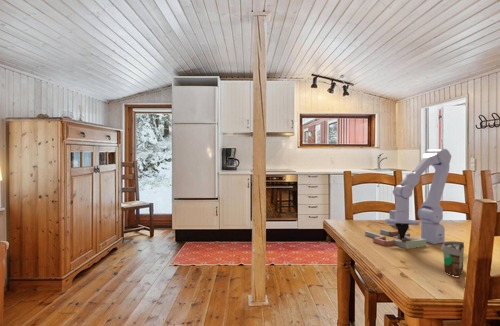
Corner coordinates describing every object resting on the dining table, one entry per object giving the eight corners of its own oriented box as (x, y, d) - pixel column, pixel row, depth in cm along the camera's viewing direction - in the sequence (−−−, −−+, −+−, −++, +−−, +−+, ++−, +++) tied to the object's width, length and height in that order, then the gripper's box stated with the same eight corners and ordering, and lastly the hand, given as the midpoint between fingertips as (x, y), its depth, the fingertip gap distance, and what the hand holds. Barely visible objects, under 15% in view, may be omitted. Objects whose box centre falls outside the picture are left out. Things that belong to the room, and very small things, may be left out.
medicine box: (403, 225, 190) (403, 210, 190) (406, 226, 186) (406, 211, 185) (389, 224, 191) (389, 210, 190) (391, 226, 186) (391, 211, 186)
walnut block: (417, 245, 149) (417, 239, 148) (410, 247, 146) (410, 240, 146) (408, 243, 152) (408, 237, 152) (401, 244, 150) (401, 238, 150)
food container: (444, 265, 121) (444, 239, 121) (463, 269, 118) (464, 241, 117) (437, 275, 112) (438, 246, 112) (458, 279, 108) (459, 249, 108)
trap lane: (434, 244, 149) (434, 238, 149) (398, 250, 140) (398, 243, 140) (389, 231, 173) (389, 226, 173) (356, 236, 164) (356, 230, 164)
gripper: (417, 210, 154) (417, 238, 154) (384, 208, 158) (384, 236, 158) (420, 212, 147) (420, 242, 147) (386, 211, 151) (385, 240, 152)
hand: (401, 239), depth 152 cm, fingers closed
